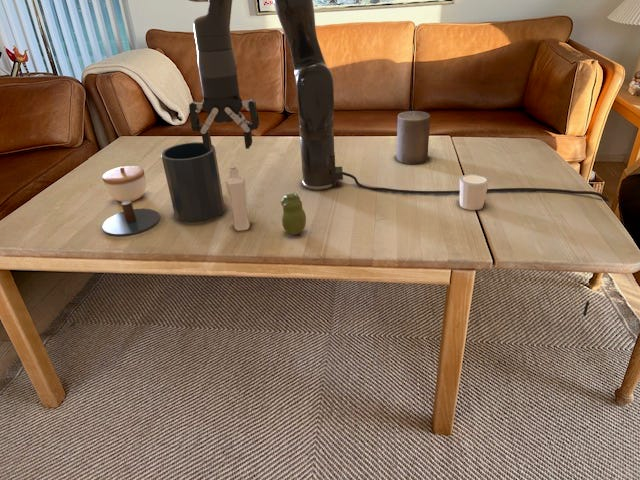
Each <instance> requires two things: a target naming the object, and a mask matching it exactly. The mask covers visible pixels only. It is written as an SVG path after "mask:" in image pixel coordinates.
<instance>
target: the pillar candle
mask: <svg viewBox="0 0 640 480" xmlns="http://www.w3.org/2000/svg"><path fill="white" fill-rule="evenodd" d="M396 127H397V133H396V160H397V161H398V162H400V163H402V164H407V165H418V164H422V163H425V162H427V161H428V159H429V158H428V157H429V155H428V154H429V143H430V142H429V141H430V128H431V114H430V113H428V112H425V111H422V110H421V111H419V110H409V111H403V112H400V113H398V114H397V126H396Z"/></svg>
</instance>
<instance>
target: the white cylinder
mask: <svg viewBox="0 0 640 480" xmlns="http://www.w3.org/2000/svg"><path fill="white" fill-rule="evenodd" d="M489 183H490V179H489V177H487V176H485V175H481V174H476V173H469V174H464V175H461V176H460V177H459V190H460V193H459V206H460V208H462V209H465V210H469V211H478V210H481V209H483V207H484V204H485V200H486V196H487V193H488V192H487V189H489V188H488V187H489Z"/></svg>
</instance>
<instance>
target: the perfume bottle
mask: <svg viewBox="0 0 640 480" xmlns="http://www.w3.org/2000/svg"><path fill="white" fill-rule="evenodd" d="M228 171H229V177H228V178H226V179H224V183H225V187H226V191H227V196H228V199H229V203H230V208H231V211H232V217H233V220H234V224H233V228H234V229H235V230H236V231H238V232H240V231H247V230H248V229H249V228H250V225H251V224H250V221H249V219H248V217H249V216H248V205H247V204H248V202H247V188H246V177H245V176H241V175H239V167H236V166H232V167H230V168H228Z"/></svg>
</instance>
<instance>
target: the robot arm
mask: <svg viewBox="0 0 640 480" xmlns="http://www.w3.org/2000/svg"><path fill="white" fill-rule="evenodd" d="M188 1H190V2H194V3H208V8H207V13H206V14H205V15H202V16H198V17H196V18H195V19H194V21H193V24H192V25H193V33H194V40H195V46H196V55H197V59H196V60H197V67H198V74H199V80H200V86H201V92H202V98H203V100H202V102H198V101H197V100H192V101H191V102H190V103H189V104H188V109H189V117H190V127H191V130H192V132H197V133H200V135H201V138H202V142H203V145H204V147H205V148H207V150H211V148H212V145H213V143H212V139H211V138H212V137H211V132H210V130H209V129H210V127H211V126H212V124H213V122H216V123H218V124H219V123H220V124H221V123H232V122H235V123H236V125H238V126H239V127H240V128H241V129H242V131H244V132H243V139H244V146H245V147H244V148H245V149H246V150H249V149H250V148H251V147H252V144H253V136H252V135H253V134H252V131H253V130H257V129H258V128H259V126H260V121H259V120H260V119H259V114H258V108H257V107H258V106H257V101H256V99H255V98H250V99H248V100H247V99H246V100H242V98H241V96H240V89H239V88H240V87H239V80H238V79H239V78H238V71H237V70H238V66H237V64H236V56H235V54H234V48H233V42H232V34H231V18H232V8H233V1H234V0H188ZM272 3H273V6H274V9H275V12H276V14H277V18H278V20H279V23H280V25H281V28H282V30H283V32H284V35H285V37H286V40H287V42H288V46H289V49H290V55H291V59H292V60H291V61H292V65H293V73H294V80H295V85H296V95H297V109H298V110H297V111H298V113H297V115H298V129H299V145H300V158H301V173H302V186H303V187H304V188H306V189H307V190H312V191H322V190H323V191H324V190H327V189H328V190H329V189H330V188H336V187H337V181H343V180H344V176H346V177H349V178H351V179H353V181H354V182H355V184H356V185H357V186H358V187H359V188H362V189H365V190H372V191H384V192H390V193H391V192H392V193H402V194H420V195H423V194H425V195H429V194H430V195H446V194H449V195H450V194H453V195H454V194H460V189H459V190H414V189H413V190H409V189H399V188H398V189H397V188H388V187H372V186H367V185H363V184H361V183H360V182H359V180H358V179H357V177H356V176H355V175H353V174H351V173H348V172H345V171H343V166H336V152H335V130H334V128H335V127H334V116H335V90H334V89H335V88H334V87H335V86H334V77H333V74H332V72H331V70H330V69H329V67H328V66H327V62H326V60H325V58H324V55H323V53H322V49H321V46H320V43H319V39H318V35H317V30H316V29H317V27H316V18H315V17H316V16H315V8H314V1H313V0H272ZM243 107H244V108H245V110H246V111H247V112H249V116H250V122H249V120H247V118H246V117H245V116H244V114H242V113H241V111H242V108H243ZM202 109H203V111H204V112H205V113H206V114H207V115H208V117H207V118H206V120H205V121H204V123H203V124H201V123H200V116H199V115H200V114H199V113H200V112H201V110H202ZM490 192H548V193H549V192H550V193H551V192H552V193H564V194H565V193H566V194H573V195H594V196H597V197H600V198H601V199H602V200H604V201H605V202H610V200H609V198H608V197H606V196H605V195H604V194H602V193H599V192H597V191H591V190H572V189H571V190H570V189H560V188H544V187H543V188H542V187H541V188H539V187H505V188H503V187H502V188H501V187H500V188H487V192H486V193H490ZM590 302H591V301H590V300H589V301H586V302H585V306H584V309H583V313H582V316H583V317H586V316H587V314H588V313H587V312H588V309H589V305H590Z"/></svg>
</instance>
